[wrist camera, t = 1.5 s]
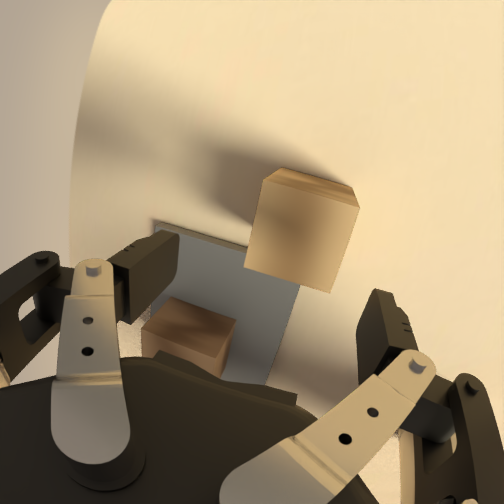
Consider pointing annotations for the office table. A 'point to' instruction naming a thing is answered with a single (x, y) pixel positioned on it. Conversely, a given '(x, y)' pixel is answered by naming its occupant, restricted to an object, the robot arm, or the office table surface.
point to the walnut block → (189, 335)
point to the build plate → (232, 300)
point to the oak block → (301, 228)
